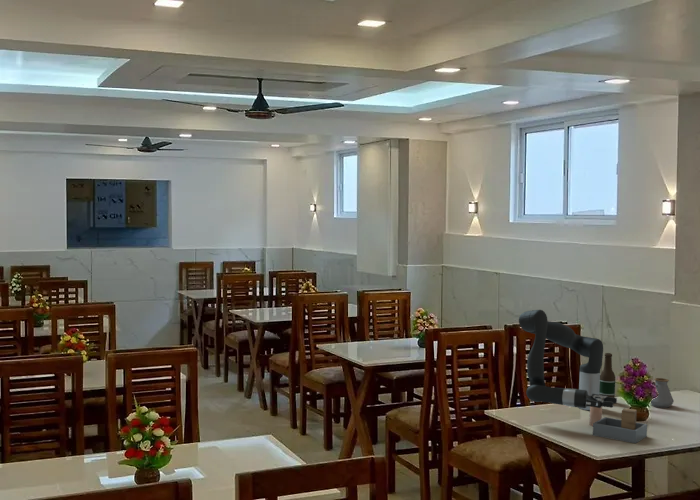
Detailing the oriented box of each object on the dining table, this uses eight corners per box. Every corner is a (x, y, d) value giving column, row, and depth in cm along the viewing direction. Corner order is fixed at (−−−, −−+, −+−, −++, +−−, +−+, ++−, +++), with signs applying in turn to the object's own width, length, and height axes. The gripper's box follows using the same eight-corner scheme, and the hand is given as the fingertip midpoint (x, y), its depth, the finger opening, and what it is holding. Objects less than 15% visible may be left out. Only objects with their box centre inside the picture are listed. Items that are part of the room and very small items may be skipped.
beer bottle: (617, 402, 398) (619, 353, 397) (610, 405, 393) (612, 355, 391) (602, 399, 403) (604, 351, 402) (595, 402, 398) (597, 353, 397)
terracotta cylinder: (592, 423, 358) (592, 400, 357) (603, 425, 355) (604, 402, 354) (587, 425, 354) (588, 402, 353) (599, 427, 351) (599, 404, 350)
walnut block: (622, 432, 339) (623, 408, 339) (635, 433, 337) (636, 409, 336) (620, 434, 335) (621, 410, 334) (633, 436, 332) (634, 412, 332)
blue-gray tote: (604, 428, 349) (605, 417, 348) (646, 436, 338) (647, 424, 338) (592, 435, 338) (593, 423, 337) (635, 443, 327) (636, 431, 327)
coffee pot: (660, 402, 401) (661, 371, 401) (678, 407, 391) (680, 376, 390) (627, 405, 392) (628, 374, 391) (645, 411, 382) (646, 379, 381)
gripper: (571, 392, 339) (612, 397, 331) (578, 386, 351) (618, 390, 344) (571, 410, 339) (611, 415, 332) (578, 403, 352) (617, 408, 344)
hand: (614, 402), depth 338 cm, fingers open, 8 cm apart
